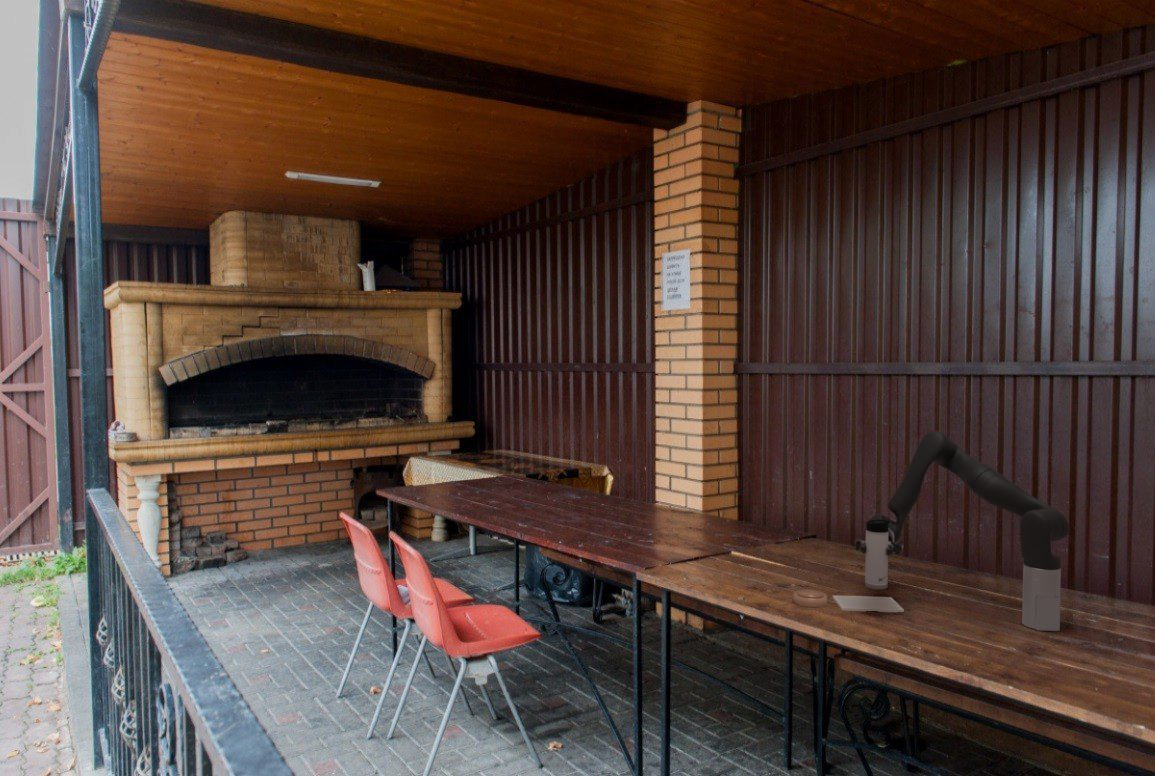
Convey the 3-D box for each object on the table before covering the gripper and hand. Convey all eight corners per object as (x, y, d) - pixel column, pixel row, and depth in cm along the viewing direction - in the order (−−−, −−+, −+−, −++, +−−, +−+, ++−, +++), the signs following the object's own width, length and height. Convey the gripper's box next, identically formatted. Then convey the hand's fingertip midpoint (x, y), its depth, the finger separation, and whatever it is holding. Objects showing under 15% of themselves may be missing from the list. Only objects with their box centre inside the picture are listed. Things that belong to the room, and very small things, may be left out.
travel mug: (886, 590, 233) (887, 522, 232) (862, 587, 237) (863, 520, 236) (890, 585, 239) (891, 518, 238) (867, 581, 242) (868, 516, 241)
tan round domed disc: (830, 607, 245) (830, 598, 245) (796, 606, 246) (796, 597, 246) (823, 598, 255) (823, 588, 255) (791, 597, 256) (791, 587, 256)
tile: (904, 612, 240) (904, 609, 240) (842, 610, 242) (842, 607, 242) (891, 599, 253) (891, 596, 253) (832, 597, 255) (832, 595, 255)
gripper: (856, 525, 253) (850, 536, 238) (906, 529, 247) (902, 540, 232) (856, 548, 254) (850, 561, 238) (905, 553, 247) (902, 566, 232)
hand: (876, 551), depth 235 cm, fingers closed on travel mug, 6 cm apart
